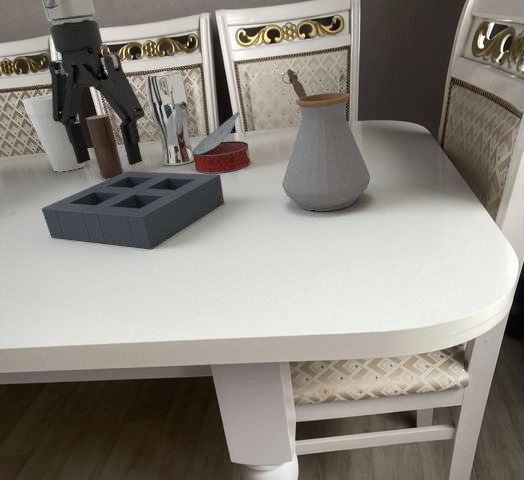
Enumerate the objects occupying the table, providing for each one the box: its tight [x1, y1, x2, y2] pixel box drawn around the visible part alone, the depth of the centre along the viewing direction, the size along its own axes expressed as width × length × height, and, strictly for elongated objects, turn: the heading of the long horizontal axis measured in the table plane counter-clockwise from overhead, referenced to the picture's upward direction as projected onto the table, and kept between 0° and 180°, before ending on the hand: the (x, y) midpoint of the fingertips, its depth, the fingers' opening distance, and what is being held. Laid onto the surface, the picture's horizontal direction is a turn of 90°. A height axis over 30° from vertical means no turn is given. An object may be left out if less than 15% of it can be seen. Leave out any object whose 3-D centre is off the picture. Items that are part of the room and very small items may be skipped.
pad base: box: [41, 171, 225, 250], centre depth 72 cm, size 17×17×4 cm
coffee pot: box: [281, 68, 371, 212], centre depth 71 cm, size 21×12×15 cm, turn 12°
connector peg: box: [85, 114, 124, 180], centre depth 93 cm, size 4×4×10 cm
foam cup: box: [22, 93, 86, 173], centre depth 102 cm, size 10×9×13 cm
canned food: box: [192, 111, 251, 174], centre depth 92 cm, size 11×10×10 cm
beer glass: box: [143, 69, 194, 167], centre depth 96 cm, size 7×7×15 cm
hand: (109, 162), depth 95 cm, fingers open, 12 cm apart
